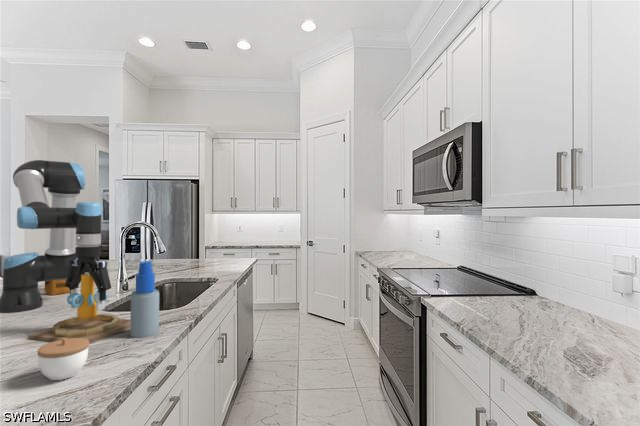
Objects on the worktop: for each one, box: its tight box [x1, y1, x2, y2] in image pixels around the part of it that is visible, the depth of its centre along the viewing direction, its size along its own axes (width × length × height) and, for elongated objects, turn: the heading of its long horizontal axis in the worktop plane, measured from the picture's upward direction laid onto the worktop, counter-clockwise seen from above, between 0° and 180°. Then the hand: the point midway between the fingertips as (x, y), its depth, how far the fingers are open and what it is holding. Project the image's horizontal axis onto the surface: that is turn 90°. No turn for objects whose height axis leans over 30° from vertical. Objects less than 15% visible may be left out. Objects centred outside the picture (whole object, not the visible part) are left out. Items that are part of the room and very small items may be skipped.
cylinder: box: [66, 272, 108, 319], centre depth 124 cm, size 12×10×15 cm
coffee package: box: [44, 279, 70, 296], centre depth 180 cm, size 10×12×22 cm
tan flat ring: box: [52, 313, 120, 337], centre depth 124 cm, size 19×19×2 cm
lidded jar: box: [37, 338, 90, 381], centre depth 90 cm, size 11×11×9 cm
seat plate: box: [27, 318, 131, 345], centre depth 124 cm, size 23×23×1 cm
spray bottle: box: [129, 260, 160, 339], centre depth 122 cm, size 9×9×25 cm
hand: (87, 308), depth 124 cm, fingers closed on cylinder, 10 cm apart
